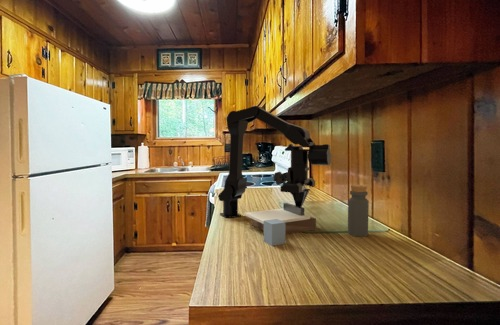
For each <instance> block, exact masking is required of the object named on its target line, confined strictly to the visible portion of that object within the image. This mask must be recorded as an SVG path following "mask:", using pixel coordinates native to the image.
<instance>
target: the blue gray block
mask: <svg viewBox="0 0 500 325" xmlns="http://www.w3.org/2000/svg"><path fill="white" fill-rule="evenodd" d="M263 243H265V244H268V245H269V246H271V247H274V246H280V245H285V244H286V234H285V222H283V221H281V220H278V219H272V220H265V221H264V231H263Z"/></svg>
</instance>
